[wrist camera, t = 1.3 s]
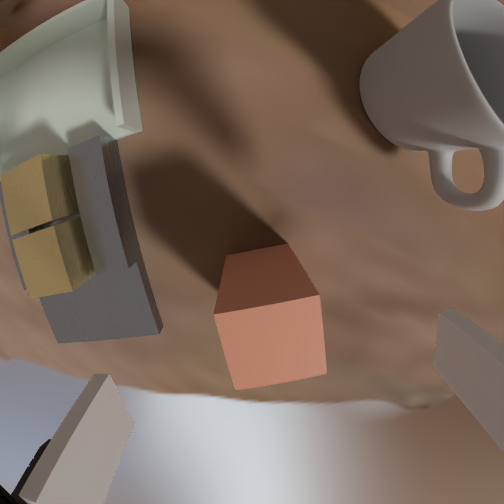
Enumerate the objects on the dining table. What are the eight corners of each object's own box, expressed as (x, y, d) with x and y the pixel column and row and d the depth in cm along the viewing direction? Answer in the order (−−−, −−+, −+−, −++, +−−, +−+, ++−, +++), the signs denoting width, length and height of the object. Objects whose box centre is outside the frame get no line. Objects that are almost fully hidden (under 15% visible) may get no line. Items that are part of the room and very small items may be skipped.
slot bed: (18, 180, 18) (-2, 182, 16) (116, 139, 18) (99, 135, 15) (64, 336, 22) (49, 351, 19) (163, 326, 21) (154, 344, 19)
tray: (-1, 77, 16) (-24, 71, 12) (129, 8, 15) (113, -13, 12) (5, 187, 18) (-21, 191, 15) (142, 131, 18) (124, 123, 15)
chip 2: (45, 228, 18) (12, 239, 14) (85, 215, 18) (53, 225, 14) (59, 279, 19) (30, 298, 15) (100, 270, 19) (72, 291, 15)
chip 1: (34, 172, 17) (0, 175, 13) (74, 155, 17) (40, 153, 13) (44, 224, 18) (11, 235, 14) (84, 211, 18) (52, 220, 14)
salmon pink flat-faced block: (226, 255, 20) (213, 314, 12) (287, 243, 20) (319, 294, 11) (238, 308, 21) (235, 390, 13) (296, 297, 21) (326, 373, 12)
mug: (349, 40, 17) (422, -39, 6) (441, 58, 17) (530, 20, 6) (366, 200, 20) (471, 229, 9) (456, 198, 20) (561, 223, 9)
